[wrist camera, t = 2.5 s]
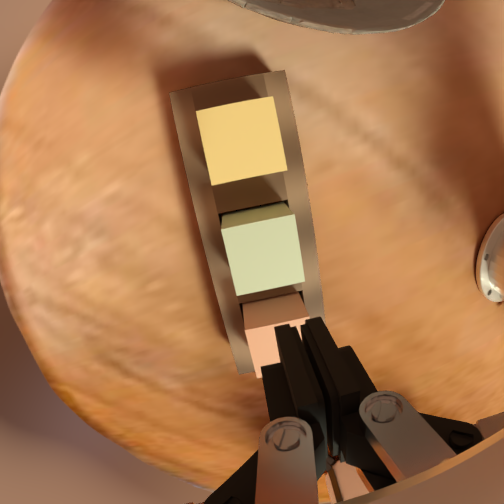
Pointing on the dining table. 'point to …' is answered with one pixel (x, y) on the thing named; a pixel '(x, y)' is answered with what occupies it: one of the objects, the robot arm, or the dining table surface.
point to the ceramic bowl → (346, 13)
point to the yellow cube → (241, 140)
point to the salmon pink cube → (270, 325)
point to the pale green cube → (262, 248)
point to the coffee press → (343, 481)
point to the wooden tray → (246, 197)
